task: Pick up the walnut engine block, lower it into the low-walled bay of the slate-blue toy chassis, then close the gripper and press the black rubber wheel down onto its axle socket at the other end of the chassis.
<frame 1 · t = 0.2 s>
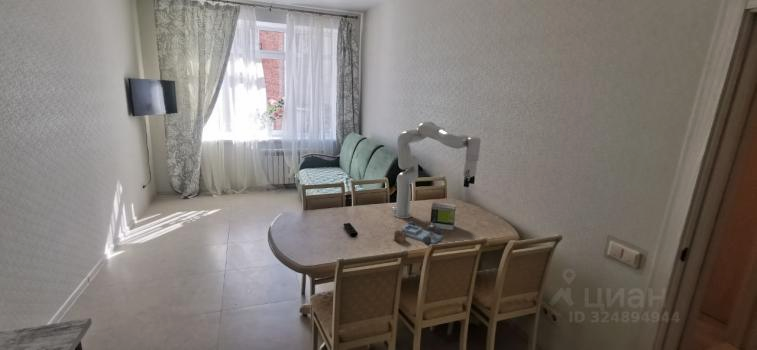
hand: (468, 185, 216), 31 cm above the table, fingers open, 9 cm apart
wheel: (431, 229, 211), point 6 cm above the table, slide at 0.0 cm
chassis: (418, 235, 216), on the table
engine block: (399, 240, 208), on the table
retro computer monitor: (441, 226, 232), on the table
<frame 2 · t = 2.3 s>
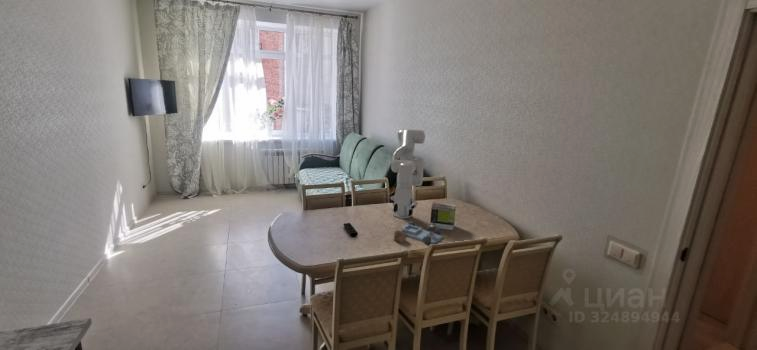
hand: (402, 213, 204), 17 cm above the table, fingers open, 9 cm apart
nothing on the table moved.
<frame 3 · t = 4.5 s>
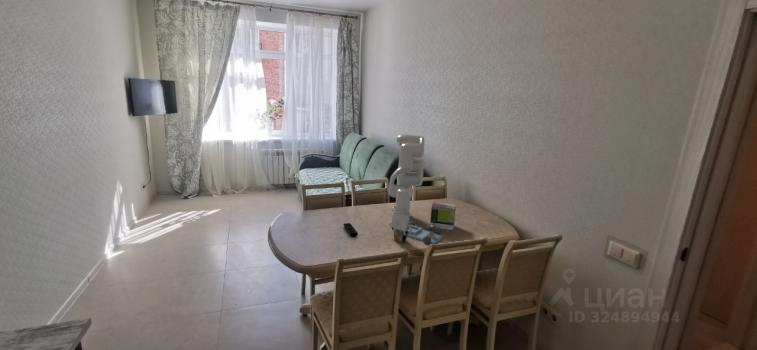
hand: (399, 239, 207), 1 cm above the table, fingers closed on engine block, 5 cm apart
engine block: (399, 240, 208), on the table, touching gripper
everything else where it was.
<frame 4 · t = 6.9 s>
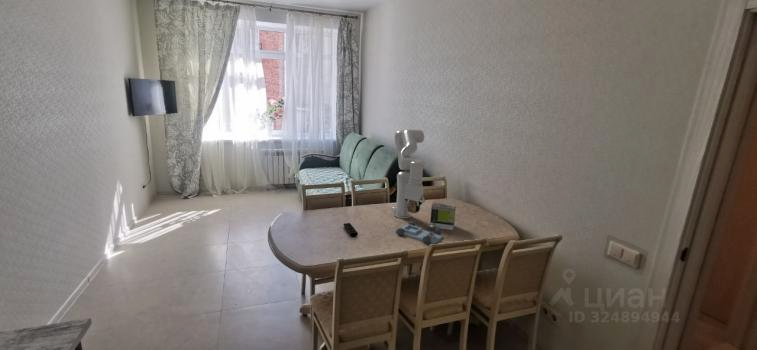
hand: (413, 210, 215), 15 cm above the table, fingers closed on engine block, 5 cm apart
engine block: (413, 211, 215), point 14 cm above the table, touching gripper
everything else where it was.
when the fingers open (4 cm above the table, at t = 9.2 s): engine block drops 2 cm, resting on chassis.
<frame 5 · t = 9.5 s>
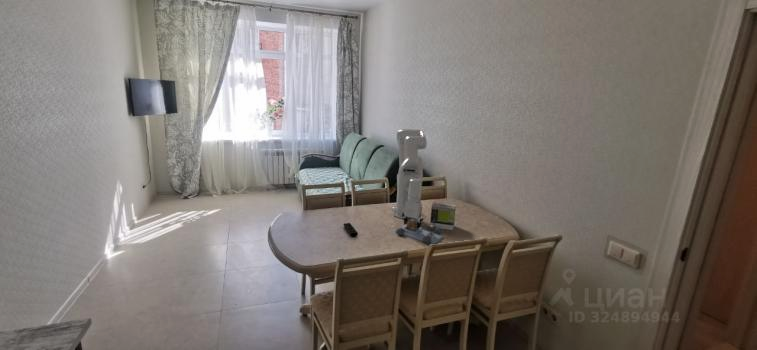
hand: (412, 225, 218), 5 cm above the table, fingers open, 8 cm apart
engine block: (411, 230, 219), point 1 cm above the table, touching chassis
everything else where it was.
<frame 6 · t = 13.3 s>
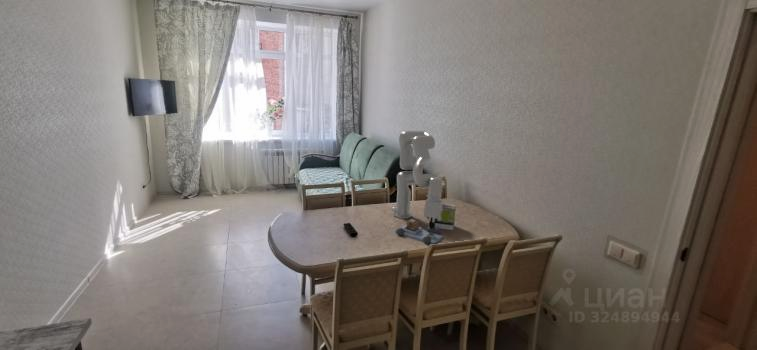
hand: (431, 227, 210), 7 cm above the table, fingers closed
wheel: (431, 231, 211), point 5 cm above the table, slide at 1.1 cm, touching gripper
everything else where it was.
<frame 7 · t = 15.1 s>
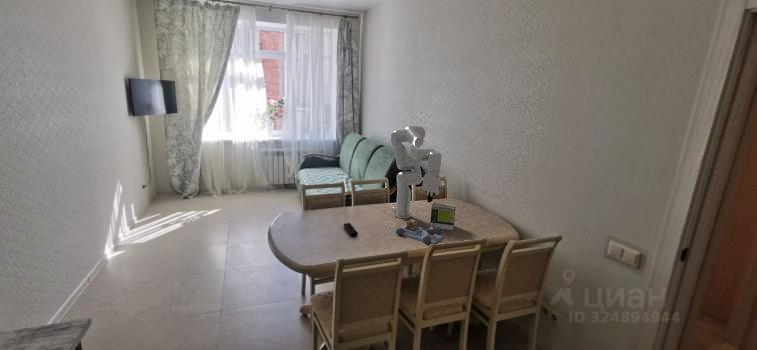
hand: (429, 201, 215), 21 cm above the table, fingers closed
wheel: (431, 232, 211), point 4 cm above the table, slide at 1.6 cm
everything else where it was.
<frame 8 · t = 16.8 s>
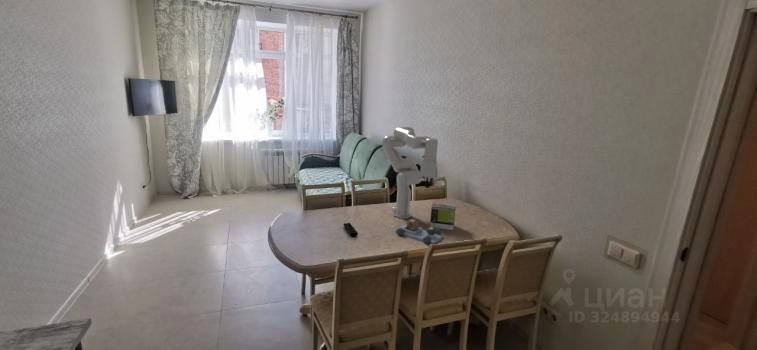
hand: (427, 187, 222), 27 cm above the table, fingers closed
nothing on the table moved.
at the end: engine block 0.0 cm from the target spot on the chassis, point 1.5 cm above the chassis's base; engine block tilted 0°; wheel slide at 1.6 cm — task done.
